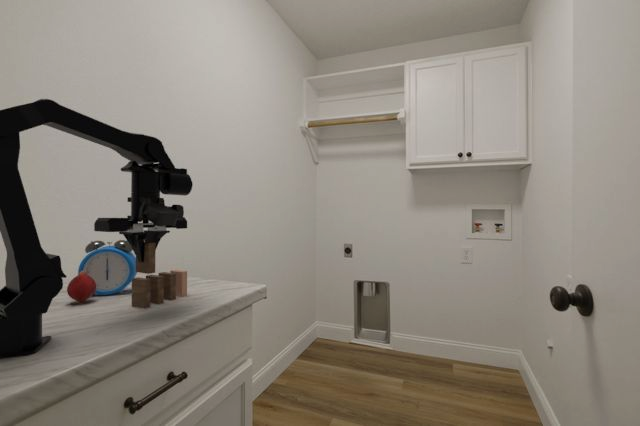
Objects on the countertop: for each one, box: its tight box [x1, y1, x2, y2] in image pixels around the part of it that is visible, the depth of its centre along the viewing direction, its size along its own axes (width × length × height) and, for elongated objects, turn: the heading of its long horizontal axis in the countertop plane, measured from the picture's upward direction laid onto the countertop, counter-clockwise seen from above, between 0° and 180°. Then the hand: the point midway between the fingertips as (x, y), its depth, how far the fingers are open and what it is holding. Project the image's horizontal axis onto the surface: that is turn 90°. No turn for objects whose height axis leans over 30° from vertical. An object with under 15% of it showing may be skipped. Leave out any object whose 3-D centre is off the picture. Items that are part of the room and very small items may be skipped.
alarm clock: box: [77, 239, 138, 297], centre depth 87 cm, size 13×6×15 cm, turn 110°
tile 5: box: [169, 269, 188, 298], centre depth 85 cm, size 2×5×7 cm, turn 66°
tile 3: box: [145, 274, 165, 305], centre depth 79 cm, size 2×5×7 cm, turn 66°
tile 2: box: [131, 276, 151, 309], centre depth 75 cm, size 2×5×7 cm, turn 66°
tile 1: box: [135, 241, 156, 275], centre depth 70 cm, size 2×5×7 cm, turn 64°
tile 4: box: [158, 271, 177, 302], centre depth 82 cm, size 2×5×7 cm, turn 66°
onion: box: [66, 271, 96, 303], centre depth 78 cm, size 6×6×8 cm
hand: (145, 261), depth 70 cm, fingers closed on tile 1, 2 cm apart
